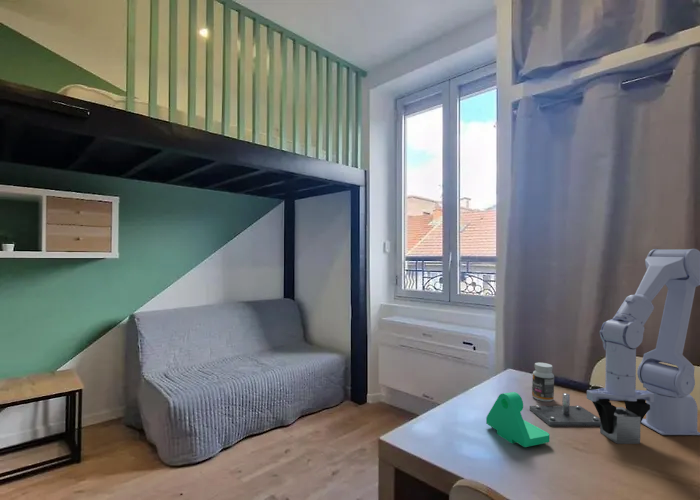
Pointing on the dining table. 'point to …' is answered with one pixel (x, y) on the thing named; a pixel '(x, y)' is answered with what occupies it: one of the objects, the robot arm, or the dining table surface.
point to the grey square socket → (624, 427)
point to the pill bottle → (543, 382)
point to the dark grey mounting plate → (565, 414)
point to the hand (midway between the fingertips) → (619, 431)
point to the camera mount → (514, 422)
